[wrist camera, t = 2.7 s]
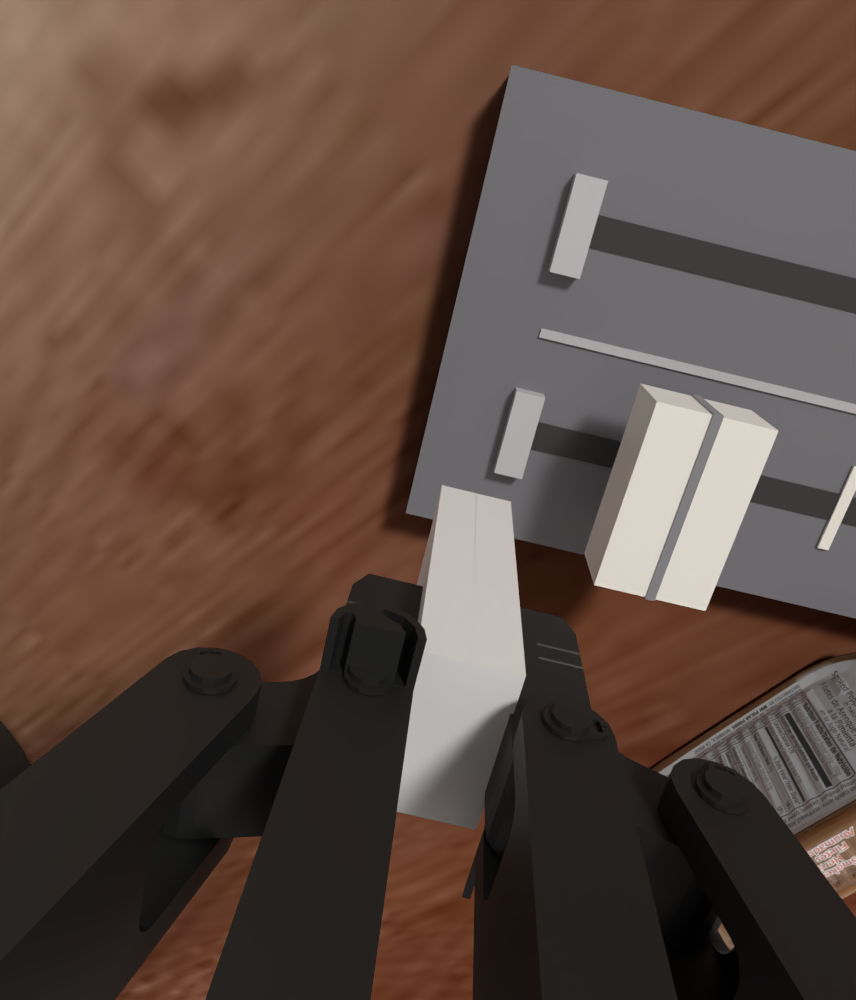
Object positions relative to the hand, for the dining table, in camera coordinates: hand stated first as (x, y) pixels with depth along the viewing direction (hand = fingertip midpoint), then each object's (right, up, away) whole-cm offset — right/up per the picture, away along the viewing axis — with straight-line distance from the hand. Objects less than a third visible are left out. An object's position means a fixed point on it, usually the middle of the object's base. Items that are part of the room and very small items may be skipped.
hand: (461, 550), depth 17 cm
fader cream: (+7, +2, +11) cm, 13 cm away
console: (+15, +5, +12) cm, 20 cm away
